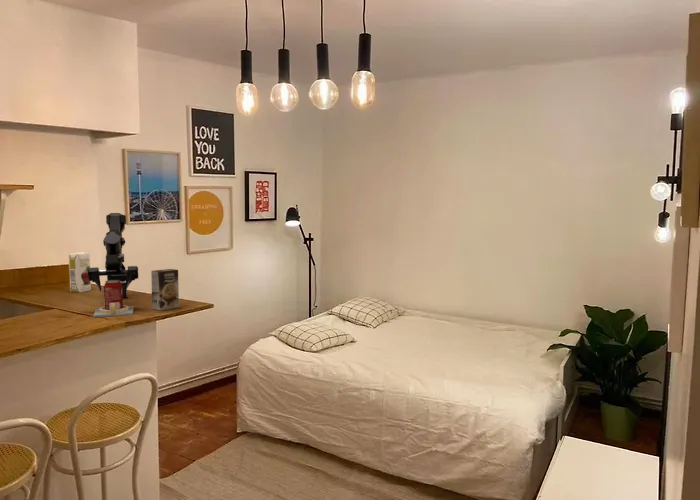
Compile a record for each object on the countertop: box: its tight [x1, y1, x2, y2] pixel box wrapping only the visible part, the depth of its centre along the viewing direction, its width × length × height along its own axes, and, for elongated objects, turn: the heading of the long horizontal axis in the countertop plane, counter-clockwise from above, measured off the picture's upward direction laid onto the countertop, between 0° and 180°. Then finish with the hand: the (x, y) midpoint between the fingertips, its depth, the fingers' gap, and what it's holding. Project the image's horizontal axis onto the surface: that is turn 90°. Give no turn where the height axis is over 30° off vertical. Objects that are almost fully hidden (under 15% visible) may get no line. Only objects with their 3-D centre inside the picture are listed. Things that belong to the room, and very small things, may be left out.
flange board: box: [92, 303, 134, 319], centre depth 211 cm, size 14×14×5 cm
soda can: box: [103, 280, 124, 310], centre depth 211 cm, size 7×7×12 cm
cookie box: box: [150, 268, 180, 311], centre depth 220 cm, size 9×6×16 cm
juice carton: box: [68, 251, 92, 293], centre depth 258 cm, size 8×9×19 cm
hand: (113, 290), depth 210 cm, fingers open, 9 cm apart
